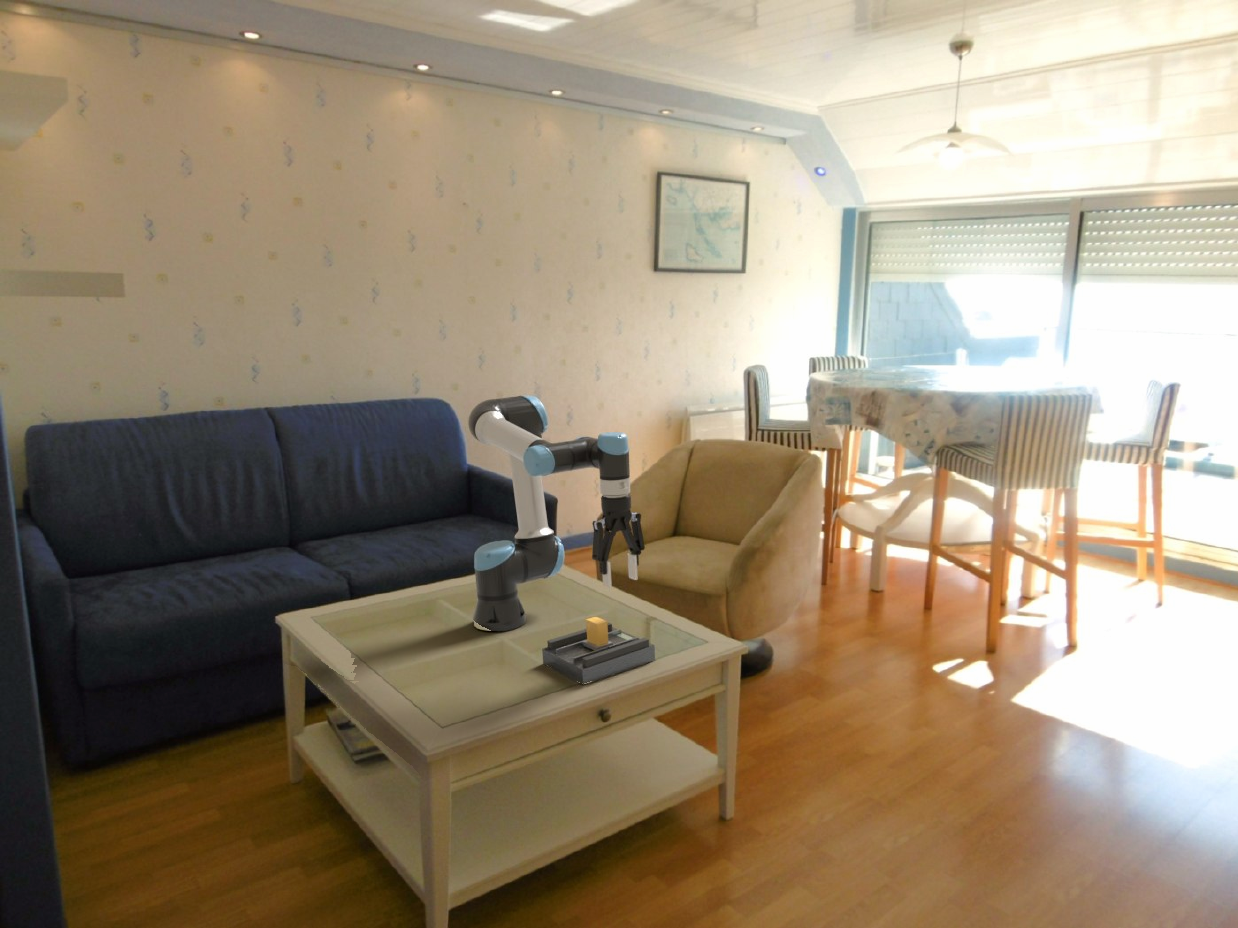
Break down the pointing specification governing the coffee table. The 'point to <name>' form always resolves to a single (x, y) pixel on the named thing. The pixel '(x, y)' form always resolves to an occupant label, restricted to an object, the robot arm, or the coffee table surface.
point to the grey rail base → (571, 654)
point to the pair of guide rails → (601, 655)
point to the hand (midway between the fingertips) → (620, 582)
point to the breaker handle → (596, 634)
